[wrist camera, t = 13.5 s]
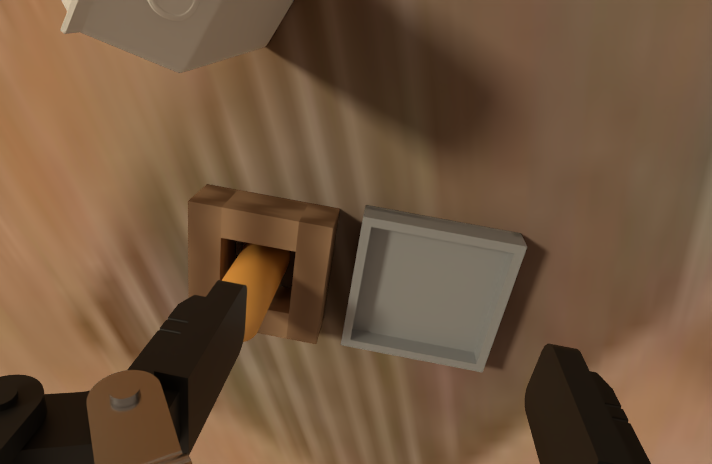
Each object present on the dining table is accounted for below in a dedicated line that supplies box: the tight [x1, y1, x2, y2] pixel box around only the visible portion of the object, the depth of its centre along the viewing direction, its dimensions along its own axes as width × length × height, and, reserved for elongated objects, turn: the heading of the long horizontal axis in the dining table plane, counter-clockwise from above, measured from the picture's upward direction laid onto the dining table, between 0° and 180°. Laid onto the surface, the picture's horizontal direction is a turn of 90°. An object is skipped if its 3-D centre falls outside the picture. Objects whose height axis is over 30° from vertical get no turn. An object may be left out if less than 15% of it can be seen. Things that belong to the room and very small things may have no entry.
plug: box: [222, 243, 290, 342], centre depth 40 cm, size 4×4×10 cm
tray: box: [341, 205, 527, 372], centre depth 43 cm, size 14×14×2 cm
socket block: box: [188, 184, 340, 344], centre depth 43 cm, size 12×12×4 cm
